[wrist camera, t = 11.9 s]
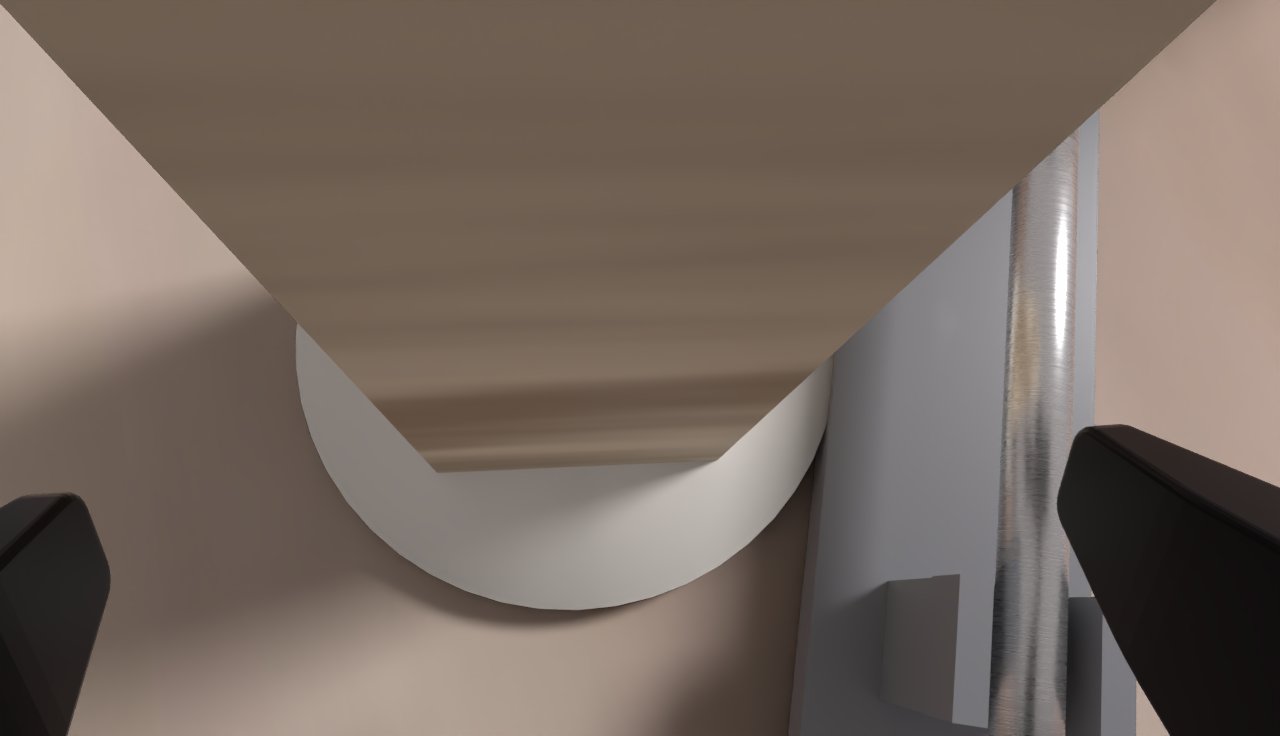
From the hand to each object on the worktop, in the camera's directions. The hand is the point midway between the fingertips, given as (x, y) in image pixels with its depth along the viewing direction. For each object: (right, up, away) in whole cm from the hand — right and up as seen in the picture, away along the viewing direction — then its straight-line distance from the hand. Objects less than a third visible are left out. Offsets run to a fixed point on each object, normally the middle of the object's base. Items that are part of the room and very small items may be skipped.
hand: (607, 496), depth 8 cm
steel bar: (+7, +2, +7) cm, 10 cm away
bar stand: (+6, +1, +10) cm, 12 cm away
